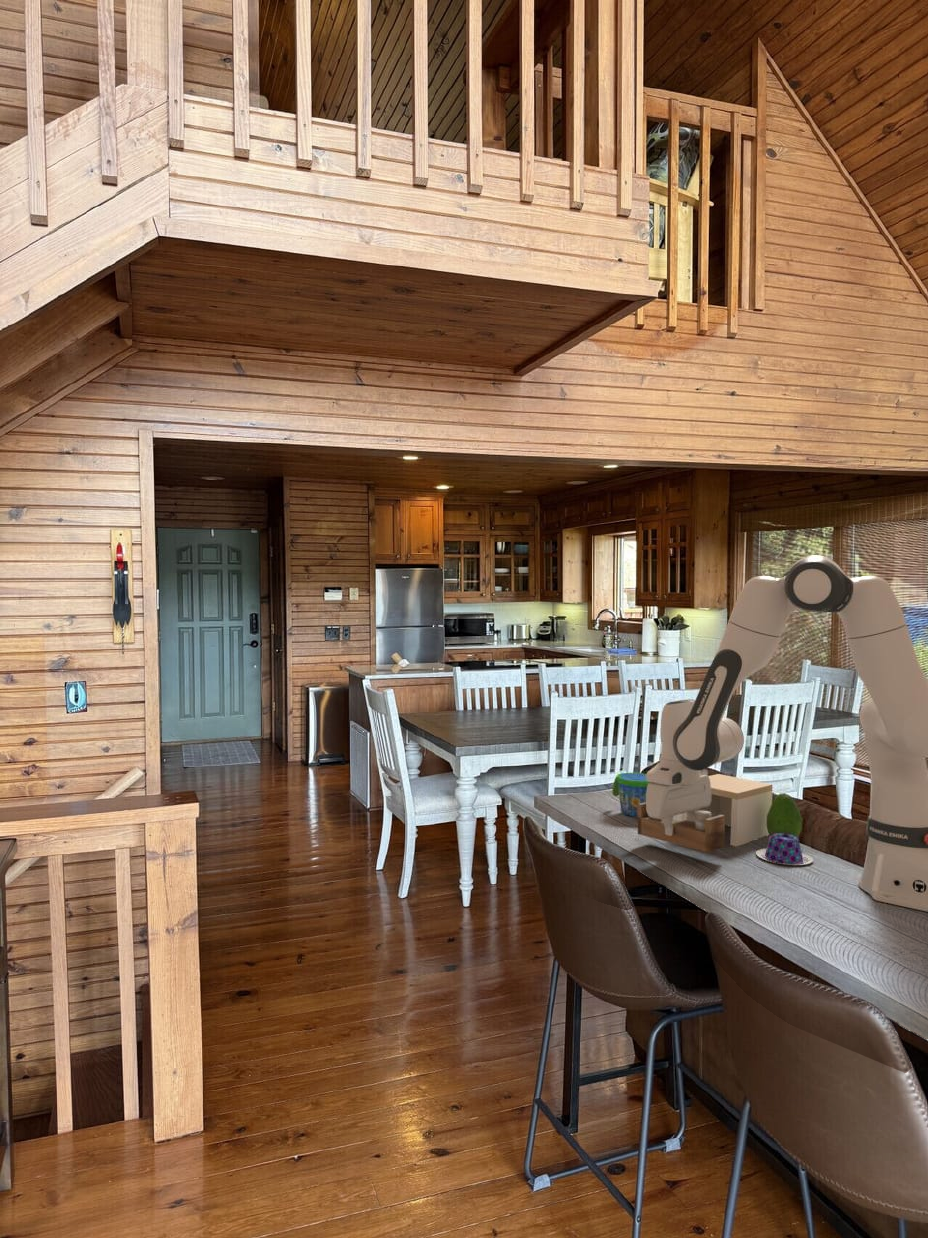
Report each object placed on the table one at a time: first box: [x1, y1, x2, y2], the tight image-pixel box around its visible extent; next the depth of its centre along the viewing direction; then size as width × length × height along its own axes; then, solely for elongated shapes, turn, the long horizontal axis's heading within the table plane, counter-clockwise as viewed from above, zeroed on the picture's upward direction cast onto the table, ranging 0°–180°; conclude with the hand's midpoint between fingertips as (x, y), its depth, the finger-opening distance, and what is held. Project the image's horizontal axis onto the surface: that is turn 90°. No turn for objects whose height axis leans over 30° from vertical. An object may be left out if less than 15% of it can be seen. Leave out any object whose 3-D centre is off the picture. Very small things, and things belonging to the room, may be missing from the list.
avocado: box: [766, 792, 803, 838], centre depth 198 cm, size 8×8×12 cm
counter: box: [681, 773, 773, 847], centre depth 205 cm, size 15×16×12 cm
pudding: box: [755, 833, 814, 866], centre depth 186 cm, size 12×12×5 cm
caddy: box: [637, 802, 726, 853], centre depth 188 cm, size 6×19×8 cm, turn 40°
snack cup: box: [611, 772, 650, 818], centre depth 222 cm, size 16×10×10 cm
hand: (680, 832), depth 188 cm, fingers closed on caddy, 6 cm apart
